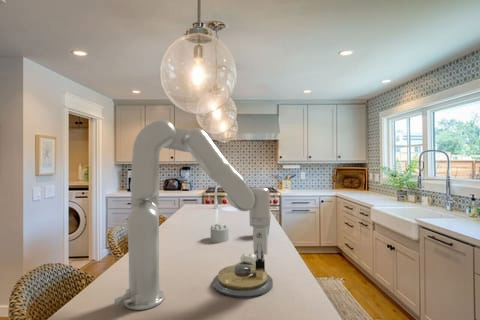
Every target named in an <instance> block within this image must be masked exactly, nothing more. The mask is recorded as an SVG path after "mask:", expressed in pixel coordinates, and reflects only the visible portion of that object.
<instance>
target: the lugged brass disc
mask: <svg viewBox="0 0 480 320" xmlns="http://www.w3.org/2000/svg"><path fill="white" fill-rule="evenodd" d="M267 274H268V272H267V270H266V269H265V271H264V272H263V269H261V268H257V269H256V266H254V265H251V264H233V265H229V266H225V267H224V268H221V269H220V270H219V271H218V273H217V275H218V281H219V284H220V285H221V286H223V287H225V288H227V289H231V290H239V291H246V290H254V289H257V288H260V287H262V286H264V285H265V284H266V283H267Z"/></svg>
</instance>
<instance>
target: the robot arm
mask: <svg viewBox="0 0 480 320" xmlns="http://www.w3.org/2000/svg"><path fill="white" fill-rule="evenodd" d="M162 149H169V150H173V151H178V152H179V151H180V152H186V153H190V155H192V157H193V158H194V159H195V160H196V161H197V163H198V165H199V166H200V167H201V168H202V170H203V171H204V172H205V174H206V175H207V176H208V177H209V178H210V179H211V180H212V181H214V182H215V183H216V184H217V185H218V186H219V187H220V188H221V189H222V190H223V191H224V193H225V194H226V199H227V202H228V204H229V205H230V206H231V207H233V208H235V209H237V210H238V211H240V212H241V211H242V212H248V211H249V214H248V215H249V217H248V218H249V226H250V227H252V247H253V255H254V256H255V257H256V269H257V268H261V269H263V272H264V271H265V270H266V268H265V267H266V264H265V255H266V256H267V255H268V251H269V245H268V244H269V240H268V239H269V237H268V236H269V235H268V231H267V227H268V226H271V218H270V213H271V210H270V209H271V208H270V207H271V205H270V202H271V200H270V199H271V198H270V193H271V192H270V190H269V188H267V187H259V186H258V187H257V186H256V187H251V188H250V186H249V185H248V184H247V182H246V181H245V180H244V178H243V177H242V176H241V175H240V174H239V173H238V171H236V169H235V168H234V167H233V166H232V165H231V163H229V161H228V160H227V159H226V158H225V156H224V155H223V153H222V152H221V151H220V149H219V148H218V146H217V145H216V144H215V143H214V141H213V140H212V138H211V137H210V136H209V134H208V133H207V132H206V131H205V130H204V129H203V128H201V127H200V128H199V127H194V128H191V129H186V128H181V127H176V126H174V124H173V123H172V122H171V121H169V120H167V119H157V120H153V121H152V122H150V123H148V124H146V125H145V126H144V127H143V128H142V129H141V130H140V131H139V132H138V134H137V135H136V137H135V139H134V142H133V147H132V155H131V156H132V158H131V170H130V171H131V172H130V173H131V175H130V177H131V178H130V183H129V190H130V212H129V214H128V218H127V240H128V241H127V242H128V245H127V246H128V289H126V290H125V293H124V294H123V295H122V296H119V297H116V298H115V299H114V304H115V306H119V305H120V304H123V306H124V307H126V309H129V310H135V311H137V310H138V311H139V310H140V311H142V310H148V309H151V308H155V307H156V306H158V305H160V304H161V303H163V301H164V300H165V293H164V292H163V291H162V290H160V250H159V249H160V239H159V238H160V216H159V200H160V198H159V197H160V179H159V173H160V172H159V166H160V165H159V164H160V154H161V153H160V152H161V150H162Z"/></svg>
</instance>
